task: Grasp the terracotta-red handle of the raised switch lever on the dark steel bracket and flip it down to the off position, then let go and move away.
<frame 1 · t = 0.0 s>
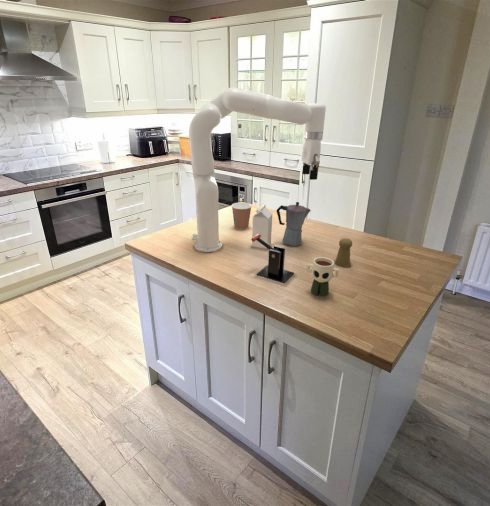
hand: (309, 176, 152), 31 cm above the countertop, tool pointing down, fingers open, 9 cm apart
character mug: (319, 294, 125), on the countertop
switch lever: (267, 245, 132), point 12 cm above the countertop, hinge at 25.0°
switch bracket: (275, 276, 136), on the countertop
milk carton: (261, 246, 161), on the countertop
moka pot: (291, 243, 165), on the countertop
olive pepper mill: (342, 263, 146), on the countertop
coffee cup: (241, 227, 182), on the countertop
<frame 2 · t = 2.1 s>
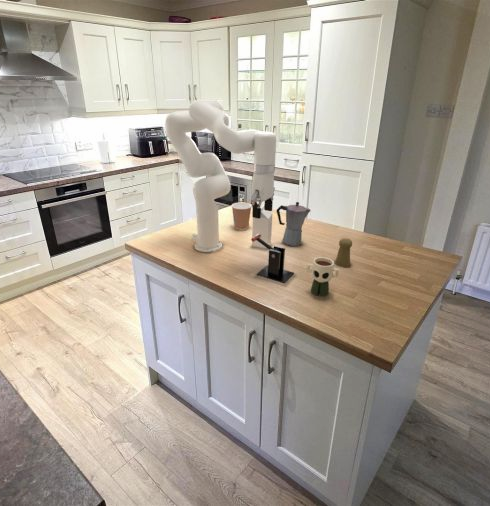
hand: (262, 214, 132), 23 cm above the countertop, tool pointing down, fingers open, 9 cm apart
nothing on the countertop moved.
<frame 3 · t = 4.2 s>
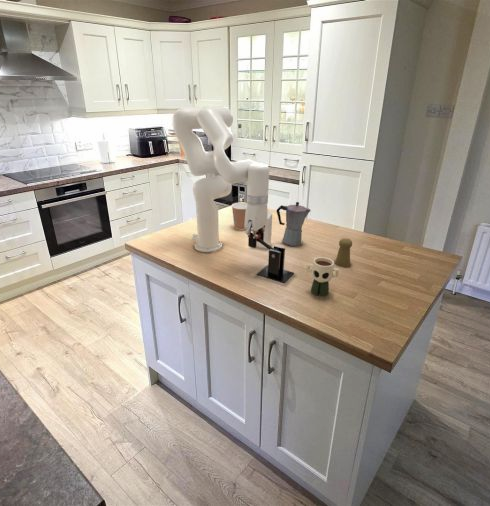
hand: (256, 243, 135), 12 cm above the countertop, tool pointing down, fingers closed on switch lever, 5 cm apart
switch lever: (267, 245, 132), point 12 cm above the countertop, hinge at 25.0°, touching gripper
everything else where it was.
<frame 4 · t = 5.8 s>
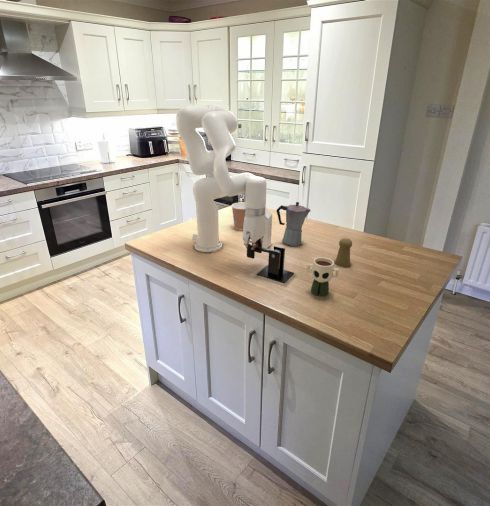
hand: (254, 254, 137), 7 cm above the countertop, tool pointing down, fingers closed on switch lever, 5 cm apart
switch lever: (265, 250, 133), point 10 cm above the countertop, hinge at -1.0°, touching gripper
everything else where it was.
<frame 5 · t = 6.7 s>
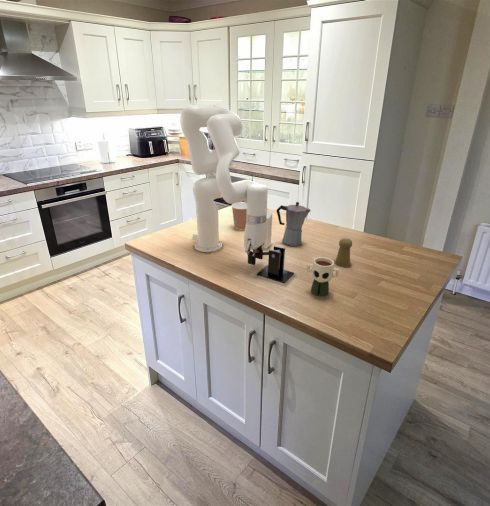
hand: (255, 260, 138), 4 cm above the countertop, tool pointing down, fingers closed on switch lever, 5 cm apart
switch lever: (266, 253, 134), point 9 cm above the countertop, hinge at -16.0°, touching gripper
everything else where it was.
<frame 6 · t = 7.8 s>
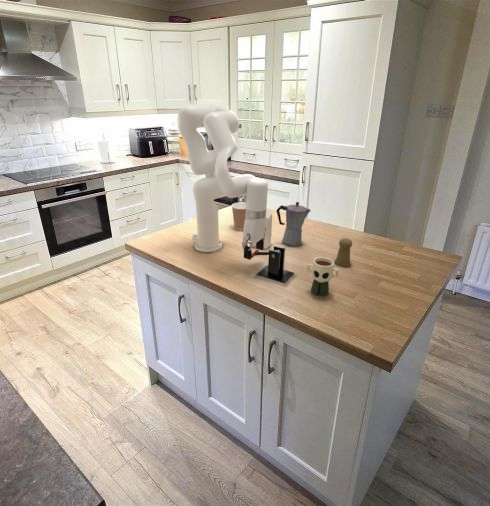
hand: (253, 253, 137), 7 cm above the countertop, tool pointing down, fingers open, 9 cm apart
switch lever: (266, 253, 134), point 9 cm above the countertop, hinge at -16.1°
everything else where it was.
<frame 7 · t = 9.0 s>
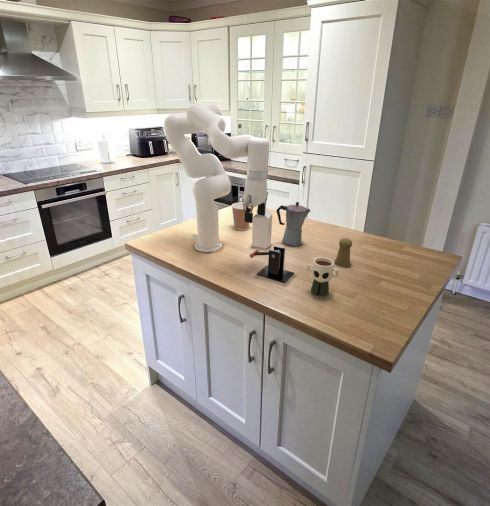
hand: (254, 218, 134), 21 cm above the countertop, tool pointing down, fingers open, 9 cm apart
nothing on the countertop moved.
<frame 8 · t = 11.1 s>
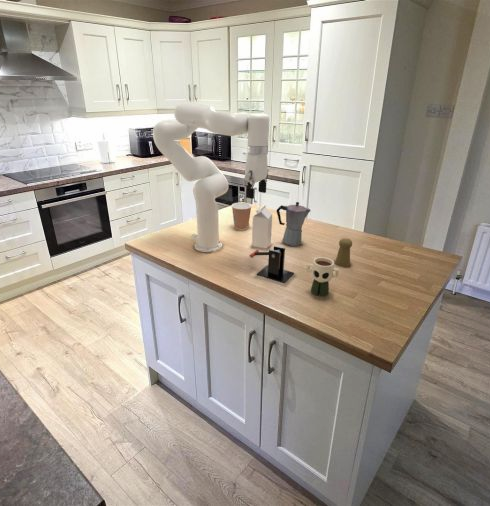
hand: (256, 195, 136), 28 cm above the countertop, tool pointing down, fingers open, 9 cm apart
nothing on the countertop moved.
at the end: switch lever at -16° (first picture: +25°); the gripper is holding nothing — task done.
